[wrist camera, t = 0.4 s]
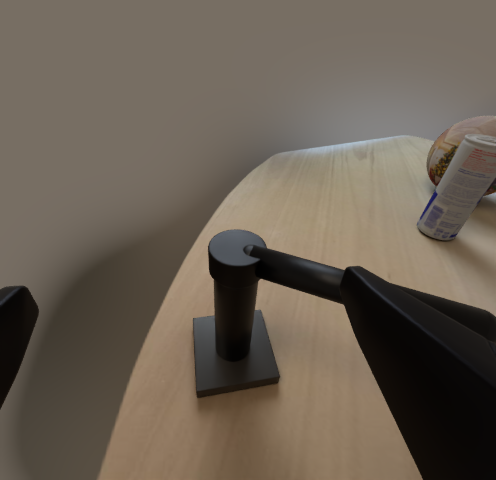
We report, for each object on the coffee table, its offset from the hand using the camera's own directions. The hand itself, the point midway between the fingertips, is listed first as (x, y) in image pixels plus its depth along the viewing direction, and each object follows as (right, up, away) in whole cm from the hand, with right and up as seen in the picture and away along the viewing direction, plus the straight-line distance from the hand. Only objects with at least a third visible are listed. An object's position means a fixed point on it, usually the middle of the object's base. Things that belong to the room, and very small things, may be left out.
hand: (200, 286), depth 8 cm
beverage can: (+32, +2, +36) cm, 48 cm away
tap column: (0, -9, +17) cm, 20 cm away
